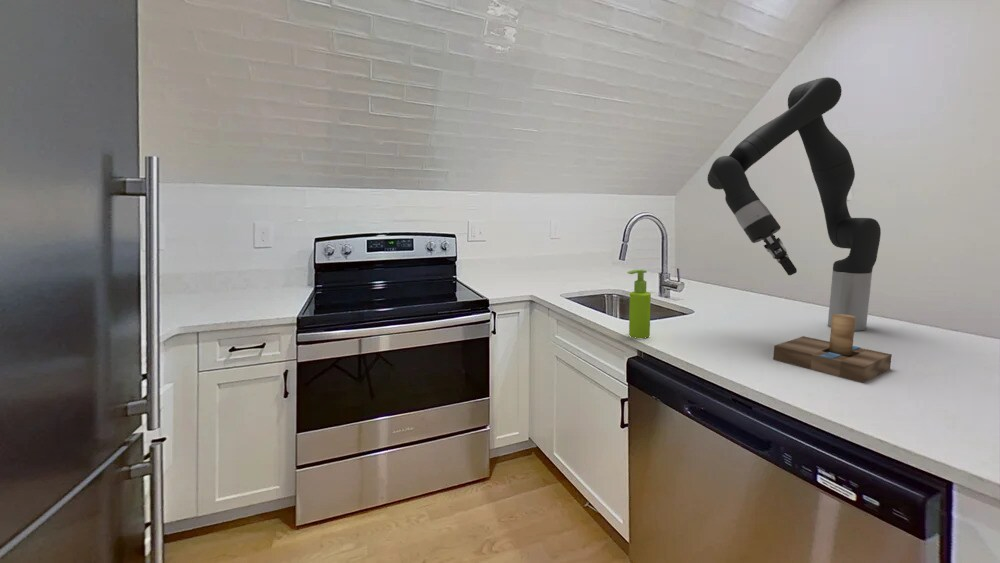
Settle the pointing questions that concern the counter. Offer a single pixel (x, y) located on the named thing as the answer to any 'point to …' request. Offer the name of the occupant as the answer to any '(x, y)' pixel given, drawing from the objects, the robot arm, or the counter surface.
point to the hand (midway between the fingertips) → (793, 273)
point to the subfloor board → (833, 359)
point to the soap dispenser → (639, 307)
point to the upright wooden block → (842, 334)
